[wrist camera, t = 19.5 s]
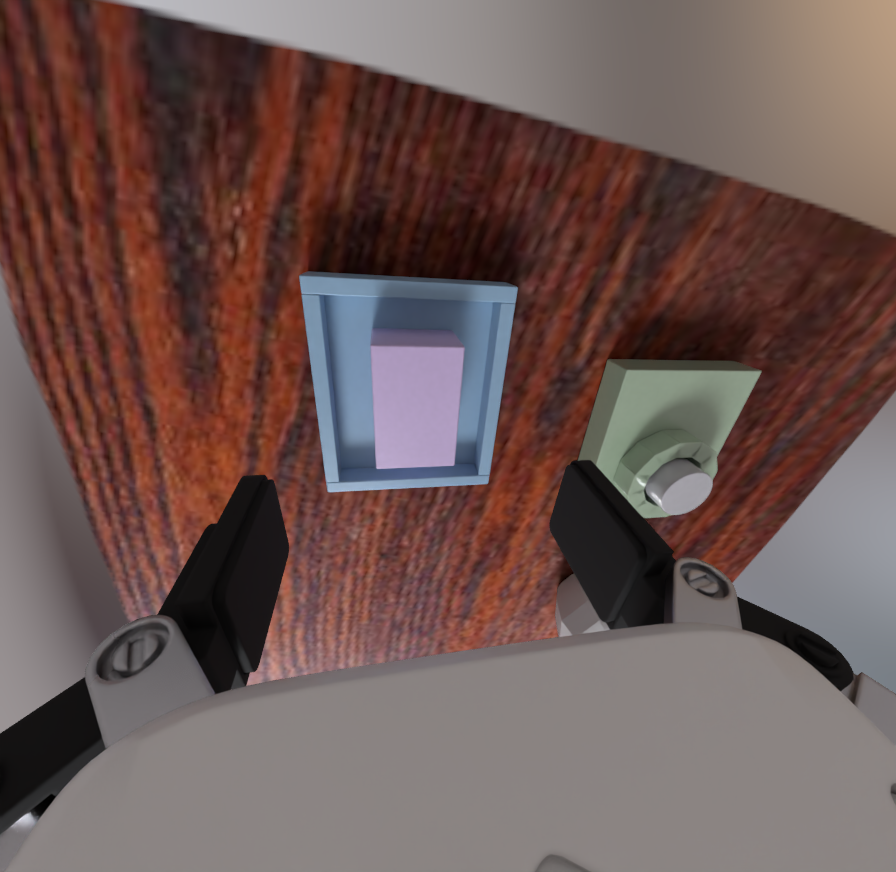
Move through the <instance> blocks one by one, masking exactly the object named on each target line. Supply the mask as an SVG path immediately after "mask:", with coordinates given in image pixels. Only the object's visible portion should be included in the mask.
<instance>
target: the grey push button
mask: <svg viewBox="0 0 896 872" xmlns="http://www.w3.org/2000/svg"><path fill="white" fill-rule="evenodd" d="M712 486H713V482H712V478H711V477H710V475H708V474H707V473H706V472H704V471H703V470H702V469H700V468H699V467H697V466H696V465H695V464H693V463H692V462H691V461H689V460H687V459H683V458H676V459H674V460H672V461H670V462H667V463H665V464H663V465H662V466H661V467H660V468H659V469H658V470H657V471H656V472H655V473H654V474H653V475H652V476H650V477H649V479H648V482H647V484H646V486H645V491H646V493H647V495H648V496H649V497H650V498H651V499H652V500H653V501H654V502H655V503H656V504H657V505H658V506H659V507H660V508H661V509H662V510H663V511H664V512H666V513H668V514H671V515H680V514H684V513H687V512H689V511H691V510H693V509H695V508H696V507H698V506H699V505H700V504H701V503H703V502H704V501H705V499H706V498H707V497H708V495H709V494H710V492H711V490H712Z"/></svg>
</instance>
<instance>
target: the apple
mask: <svg viewBox="0 0 896 872" xmlns="http://www.w3.org/2000/svg"><path fill="white" fill-rule="evenodd" d="M555 619H556V624H557V630H558V636H559V637H563V636H570V635H578V634H585V633H592V632H599V631H606V630H610V629H609V627H608V625H607V624H606V622H603V621H601V620H600V618H599V617H598V615H597V613H596V611H595V610H594V608H593V606H592V604H591V603H590V601H589V599H588V597H587V595H586V594H585V592H584V590H583V588H582V587H581V585H580V583H579V581H578V579H577V578H576V576H575V574H572V575H570V576H569V577H568V578H567V579H565V580H564V581H563V582H562V583H560V585H559V587H558V589H557V601H556V612H555Z"/></svg>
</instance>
